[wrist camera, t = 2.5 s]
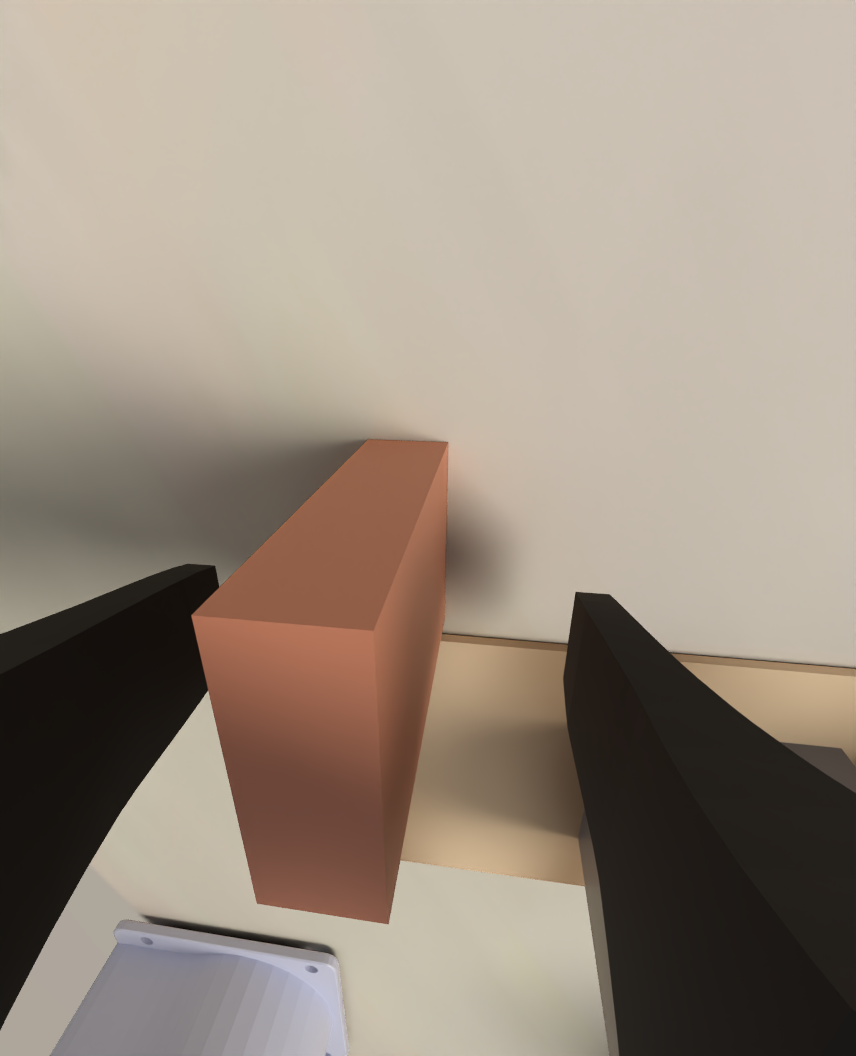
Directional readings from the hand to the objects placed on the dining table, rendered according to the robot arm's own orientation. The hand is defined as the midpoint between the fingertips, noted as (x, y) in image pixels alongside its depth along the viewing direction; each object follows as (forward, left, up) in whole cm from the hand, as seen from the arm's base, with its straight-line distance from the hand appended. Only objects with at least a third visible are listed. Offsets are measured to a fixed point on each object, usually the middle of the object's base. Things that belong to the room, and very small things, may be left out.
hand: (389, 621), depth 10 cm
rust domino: (0, +1, -3) cm, 3 cm away
